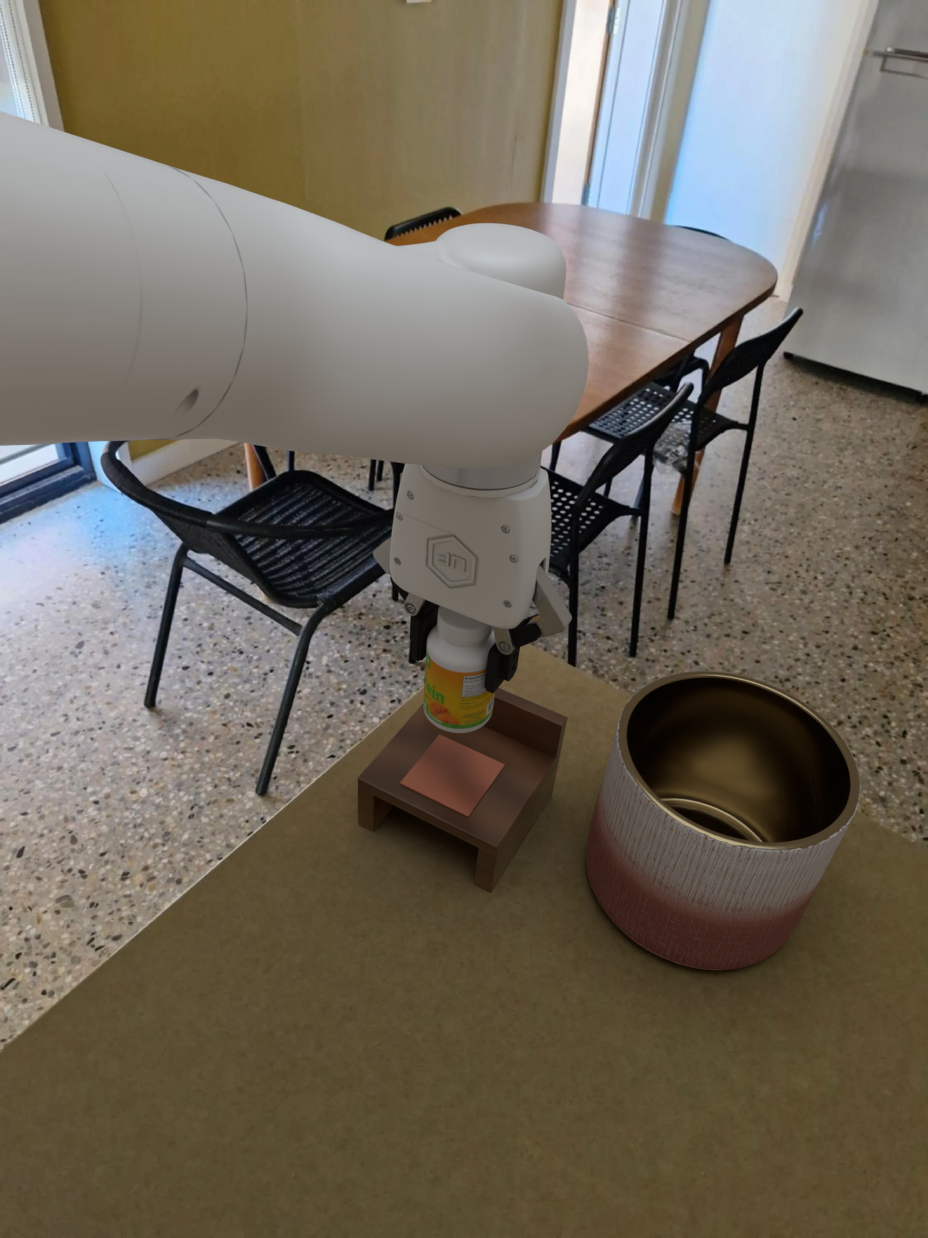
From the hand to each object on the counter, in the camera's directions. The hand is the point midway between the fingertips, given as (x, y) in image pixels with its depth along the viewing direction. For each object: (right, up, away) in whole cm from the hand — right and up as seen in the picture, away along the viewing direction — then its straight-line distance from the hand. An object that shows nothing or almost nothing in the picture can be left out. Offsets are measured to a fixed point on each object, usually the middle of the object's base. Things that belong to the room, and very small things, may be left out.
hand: (461, 663), depth 66 cm
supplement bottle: (0, -4, +3) cm, 5 cm away
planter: (+19, -19, +9) cm, 28 cm away
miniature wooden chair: (0, -13, +13) cm, 19 cm away
